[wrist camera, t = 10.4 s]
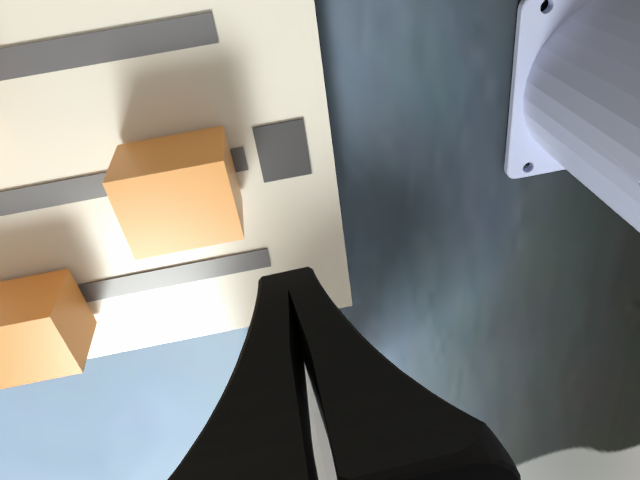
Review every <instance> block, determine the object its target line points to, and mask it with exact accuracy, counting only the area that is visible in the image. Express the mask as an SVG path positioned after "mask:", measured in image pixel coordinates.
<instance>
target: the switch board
mask: <svg viewBox="0 0 640 480" xmlns="http://www.w3.org/2000/svg"><path fill="white" fill-rule="evenodd" d="M219 126H224V128H225V132H226V136H227V140H228V144H229V148H230V152H231V156H232V160H233V164H234V167H235V171H236V175H237V179H238V183H239V187H240V191H241V195H242V203H243V222H244V239H243V240H237V241H232V242H227V243H222V244H217V245H211V246H206V247H201V248H196V249H191V250H185V251H180V252H175V253H170V254H165V255H159V256H154V257H149V258H144V259H139V260H135V259H134V257H133V254H132V252H131V250H130V247H129V245H128V243H127V240H126V238H125V236H124V233H123V231H122V229H121V226H120V224H119V222H118V219H117V217H116V215H115V212H114V210H113V208H112V205H111V203H110V201H109V198H108V196H107V194H106V191H105V189H104V187H103V184H102V182H103V180H104V177H105V175H106V172H107V170H108V167H109V165H110V162H111V160H112V157H113V155H114V152H115V150H116V147H117V145H120V144H125V143H131V142H136V141H142V140H147V139H153V138H158V137H164V136H169V135H175V134H180V133H186V132H191V131H197V130H202V129H208V128H213V127H219ZM304 267H310V268H312V269H313V270H314V273H315V275H316V277H317V279H318V280H319V282H320V284H321V285H322V287H323V288H324V290H325V291H326V293H327V294H328V296H329V297H330V298H331V300H332V301H333V302H334V304H335V305H336V306H337V307H338V309H339V308H344V307H349V306H353V305H352V297H351V289H350V281H349V273H348V265H347V257H346V249H345V241H344V233H343V225H342V218H341V210H340V202H339V194H338V186H337V178H336V170H335V162H334V154H333V146H332V138H331V130H330V123H329V115H328V107H327V99H326V91H325V83H324V75H323V67H322V59H321V51H320V43H319V35H318V28H317V20H316V12H315V4H314V0H0V282H2V281H7V280H12V279H18V278H23V277H28V276H33V275H38V274H44V273H49V272H54V271H59V270H64V269H69V270H70V272H71V274H72V276H73V277H74V279H75V281H76V283H77V285H78V287H79V289H80V291H81V293H82V295H83V296H84V298H85V300H86V302H87V304H88V306H89V308H90V310H91V312H92V314H93V315H94V317H95V319H96V321H97V325H96V328H95V332H94V335H93V339H92V342H91V346H90V349H89V353H88V356H87V359H90V358H95V357H100V356H105V355H110V354H115V353H120V352H125V351H130V350H135V349H140V348H145V347H150V346H155V345H160V344H165V343H170V342H175V341H180V340H185V339H190V338H195V337H200V336H205V335H210V334H215V333H220V332H225V331H230V330H235V329H240V328H245V327H249V326H250V322H251V319H252V315H253V311H254V307H255V302H256V297H257V291H258V281H259V279H260V278H261V277H262V276H266V275H271V274H276V273H280V272H285V271H290V270H294V269H299V268H304Z"/></svg>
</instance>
